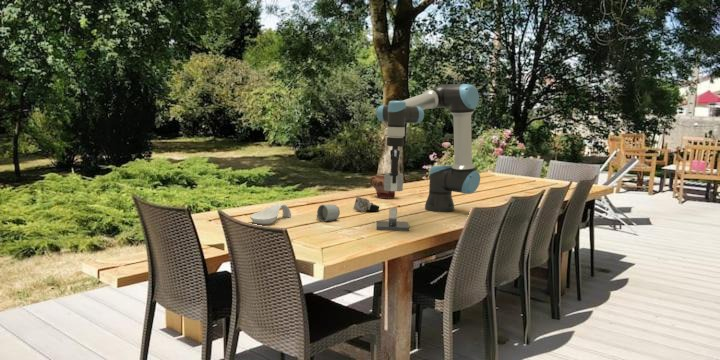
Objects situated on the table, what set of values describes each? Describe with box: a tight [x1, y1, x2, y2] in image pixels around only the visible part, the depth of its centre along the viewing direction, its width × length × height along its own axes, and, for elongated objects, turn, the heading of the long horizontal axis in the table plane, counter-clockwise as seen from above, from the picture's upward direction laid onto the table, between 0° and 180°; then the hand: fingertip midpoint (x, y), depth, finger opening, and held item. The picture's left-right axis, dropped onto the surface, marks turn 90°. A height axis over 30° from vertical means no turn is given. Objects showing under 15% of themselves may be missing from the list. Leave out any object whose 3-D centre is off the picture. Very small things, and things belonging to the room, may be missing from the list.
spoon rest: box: [249, 203, 292, 226], centre depth 253 cm, size 24×12×7 cm, turn 153°
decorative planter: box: [369, 173, 396, 199], centre depth 329 cm, size 20×12×14 cm, turn 58°
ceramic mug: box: [316, 203, 340, 222], centre depth 260 cm, size 11×8×8 cm
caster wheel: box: [352, 196, 380, 214], centre depth 285 cm, size 7×11×10 cm
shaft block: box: [376, 207, 410, 232], centre depth 248 cm, size 14×12×8 cm
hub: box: [384, 172, 404, 192], centre depth 246 cm, size 8×8×7 cm
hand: (393, 189), depth 246 cm, fingers closed on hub, 8 cm apart
